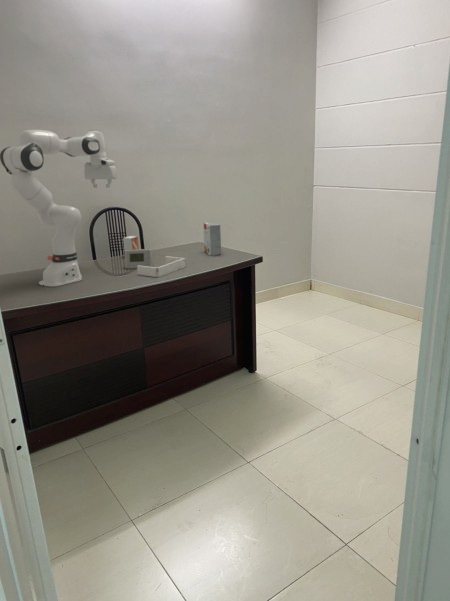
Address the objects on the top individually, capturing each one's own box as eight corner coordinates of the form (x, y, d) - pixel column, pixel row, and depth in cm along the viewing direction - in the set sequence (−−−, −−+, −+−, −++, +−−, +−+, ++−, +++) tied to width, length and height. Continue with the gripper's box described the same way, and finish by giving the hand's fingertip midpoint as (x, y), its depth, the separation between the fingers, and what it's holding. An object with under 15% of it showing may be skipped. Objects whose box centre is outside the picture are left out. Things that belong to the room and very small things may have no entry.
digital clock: (124, 269, 246) (122, 251, 243) (128, 265, 255) (127, 248, 251) (151, 269, 244) (149, 251, 241) (155, 265, 253) (153, 248, 250)
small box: (133, 258, 275) (131, 238, 270) (124, 257, 277) (122, 237, 273) (139, 255, 282) (137, 236, 278) (131, 255, 284) (129, 235, 280)
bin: (158, 277, 227) (157, 268, 225) (137, 274, 234) (137, 265, 232) (186, 266, 249) (185, 258, 247) (166, 264, 255) (166, 256, 254)
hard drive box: (204, 251, 289) (203, 222, 283) (215, 250, 291) (214, 221, 285) (210, 256, 275) (209, 225, 269) (221, 255, 277) (220, 224, 271)
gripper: (80, 162, 237) (83, 187, 241) (109, 161, 228) (112, 187, 233) (88, 162, 242) (91, 187, 246) (117, 161, 234) (119, 187, 238)
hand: (101, 187), depth 240 cm, fingers open, 8 cm apart
